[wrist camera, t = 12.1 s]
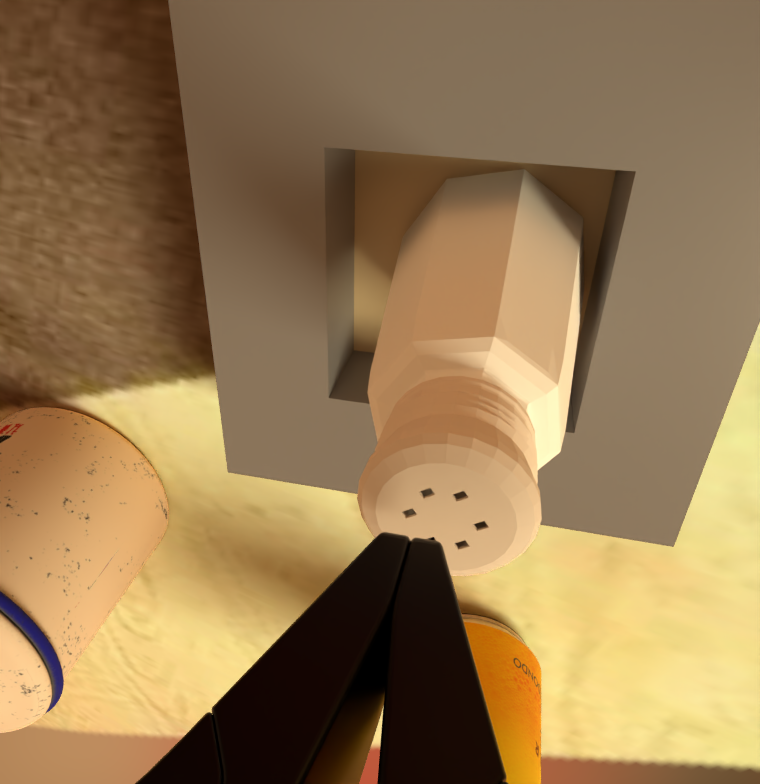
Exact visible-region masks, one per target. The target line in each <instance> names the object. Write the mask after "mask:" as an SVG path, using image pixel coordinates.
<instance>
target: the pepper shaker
mask: <svg viewBox="0 0 760 784" xmlns="http://www.w3.org/2000/svg"><path fill="white" fill-rule="evenodd" d="M583 295H584V235H583V217H582V216H581V215H579V214H578V213H577V212H576V211H575V210H573V209H572V208H571V207H570V206H569V205H567V204H566V203H565V202H564V201H563V200H561V199H560V198H559V197H558V196H556V195H555V194H554V193H553V192H552V191H550V190H549V189H548V188H547V187H546V186H544V185H543V184H542V183H541V182H540V181H538V180H537V179H536V178H535V177H534V176H532V175H531V174H530V173H529V172H528V171H526V170H525V169H521V170H513V171H505V172H497V173H489V174H481V175H473V176H465V177H457V178H449V179H446V181H445V182H444V183H443V185H442V186H441V187H440V188H439V190H438V191H437V192H436V194H435V195H434V196H433V198H432V199H431V200H430V202H429V203H428V204H427V205H426V207H425V208H424V209H423V211H422V212H421V213H420V215H419V216H418V217H417V219H416V220H415V221H414V222H413V224H412V225H411V226H410V228H409V229H408V230H407V232H406V233H405V234H404V236H403V238H402V242H401V246H400V250H399V254H398V259H397V263H396V267H395V271H394V275H393V279H392V283H391V288H390V292H389V296H388V300H387V304H386V308H385V312H384V317H383V321H382V325H381V329H380V333H379V337H378V341H377V346H376V350H375V354H374V358H373V362H372V366H371V370H370V378H369V385H368V392H367V393H368V398H369V403H370V407H371V412H372V417H373V422H374V426H375V431H376V436H377V441H378V443H377V446H376V448H375V452H374V453H373V454H372V455H371V456H370V458H369V460H368V462H367V464H366V466H365V469H364V471H363V473H362V475H361V477H360V479H359V486H358V497H357V499H358V503H359V507H360V511H361V515H362V518H363V519H364V521H365V523H366V525H367V526H368V528H369V530H370V531H371V533H372V534H373V536H374V537H375V538H376V537H377V536H378V535H379V534H380V533H382V532H389V533H394V534H400V535H406V536H408V537H409V538H410V540H412V539H413V538H423V539H428V540H434V541H438V542H440V543H441V544H442V546H443V549H444V553H445V556H446V560H447V564H448V567H449V571H450V574H451V576H470V575H476V574H483V573H488V572H490V571H493V570H495V569H498V568H500V567H503V566H505V565H507V564H509V563H510V562H512V561H513V560H514V559H516V558H517V557H518V556H520V555H521V554H523V553H524V552H525V551H526V550H527V548H528V547H529V546H530V544H531V543H532V542H533V540H534V539H535V538H536V536H537V533H538V529H539V526H540V523H541V520H542V516H541V499H540V490H539V488H538V485H537V483H538V477H537V475H538V470H539V469H540V468H541V467H543V466H544V465H545V464H546V463H547V462H549V461H550V460H551V459H552V458H554V457H555V456H556V455H557V454H559V453H560V452H561V447H562V443H563V439H564V434H565V430H566V423H567V415H568V408H569V400H570V393H571V385H572V378H573V370H574V363H575V355H576V348H577V340H578V333H579V325H580V318H581V310H582V303H583Z"/></svg>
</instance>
